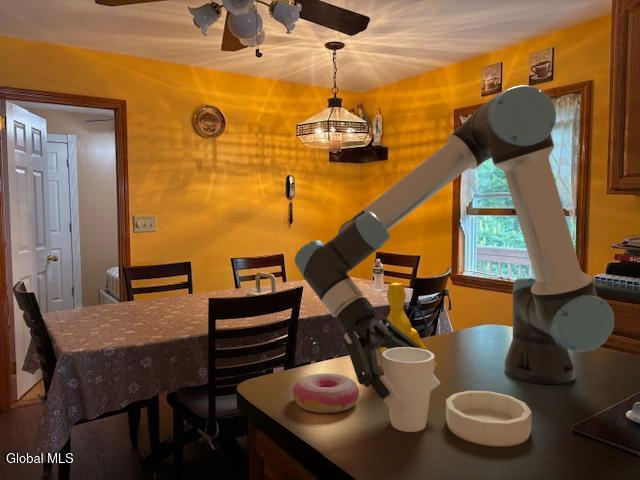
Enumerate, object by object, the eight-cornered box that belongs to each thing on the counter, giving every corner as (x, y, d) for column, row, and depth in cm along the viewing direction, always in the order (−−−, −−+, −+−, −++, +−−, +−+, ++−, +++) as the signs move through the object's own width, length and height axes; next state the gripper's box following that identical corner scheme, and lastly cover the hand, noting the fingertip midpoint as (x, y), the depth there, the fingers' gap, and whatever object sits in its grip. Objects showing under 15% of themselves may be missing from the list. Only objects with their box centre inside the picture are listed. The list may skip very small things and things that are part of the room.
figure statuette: (442, 378, 111) (442, 284, 109) (421, 386, 106) (421, 288, 104) (386, 360, 124) (385, 277, 123) (364, 367, 119) (364, 280, 118)
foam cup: (435, 438, 82) (435, 364, 81) (381, 433, 84) (380, 361, 83) (433, 414, 91) (433, 348, 90) (384, 411, 93) (384, 346, 92)
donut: (369, 413, 92) (369, 388, 92) (303, 423, 89) (302, 396, 88) (346, 388, 105) (345, 366, 105) (287, 396, 102) (287, 373, 101)
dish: (517, 412, 91) (517, 392, 91) (540, 448, 77) (541, 424, 77) (442, 409, 93) (442, 389, 93) (452, 444, 79) (452, 421, 79)
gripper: (371, 308, 105) (434, 389, 97) (298, 332, 86) (370, 435, 77) (392, 286, 102) (459, 368, 94) (321, 306, 82) (399, 412, 74)
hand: (419, 399), depth 86 cm, fingers open, 13 cm apart
